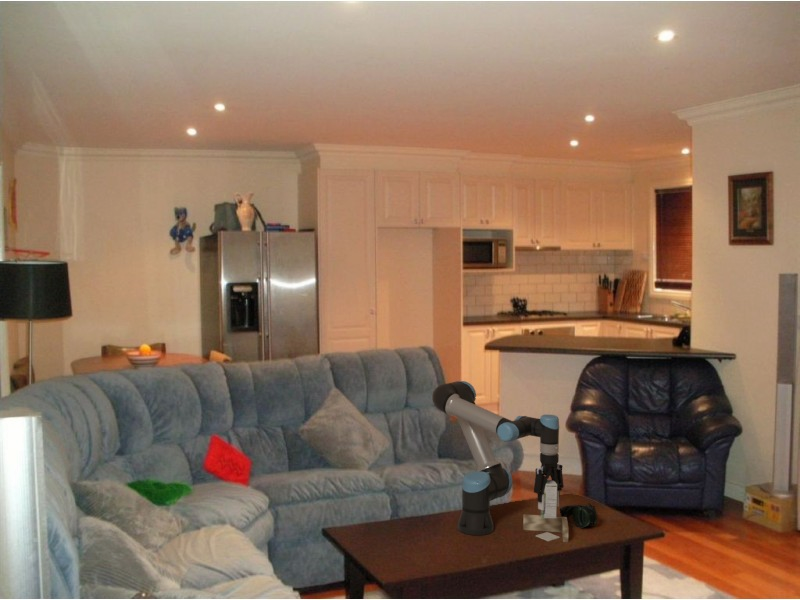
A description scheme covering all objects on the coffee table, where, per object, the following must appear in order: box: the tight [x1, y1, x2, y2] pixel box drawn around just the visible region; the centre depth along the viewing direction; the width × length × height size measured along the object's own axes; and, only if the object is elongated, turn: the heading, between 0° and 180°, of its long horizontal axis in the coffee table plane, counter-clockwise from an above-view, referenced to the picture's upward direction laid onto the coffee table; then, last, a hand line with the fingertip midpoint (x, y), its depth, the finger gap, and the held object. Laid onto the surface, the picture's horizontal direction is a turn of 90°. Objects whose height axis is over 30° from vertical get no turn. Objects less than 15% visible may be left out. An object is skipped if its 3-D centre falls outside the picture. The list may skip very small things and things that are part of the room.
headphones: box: [559, 503, 598, 529], centre depth 326 cm, size 13×13×20 cm
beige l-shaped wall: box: [522, 514, 569, 543], centre depth 310 cm, size 18×13×6 cm
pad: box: [535, 531, 561, 542], centre depth 308 cm, size 7×7×1 cm
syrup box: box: [540, 479, 557, 518], centre depth 307 cm, size 6×6×14 cm
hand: (548, 507), depth 307 cm, fingers closed on syrup box, 8 cm apart
